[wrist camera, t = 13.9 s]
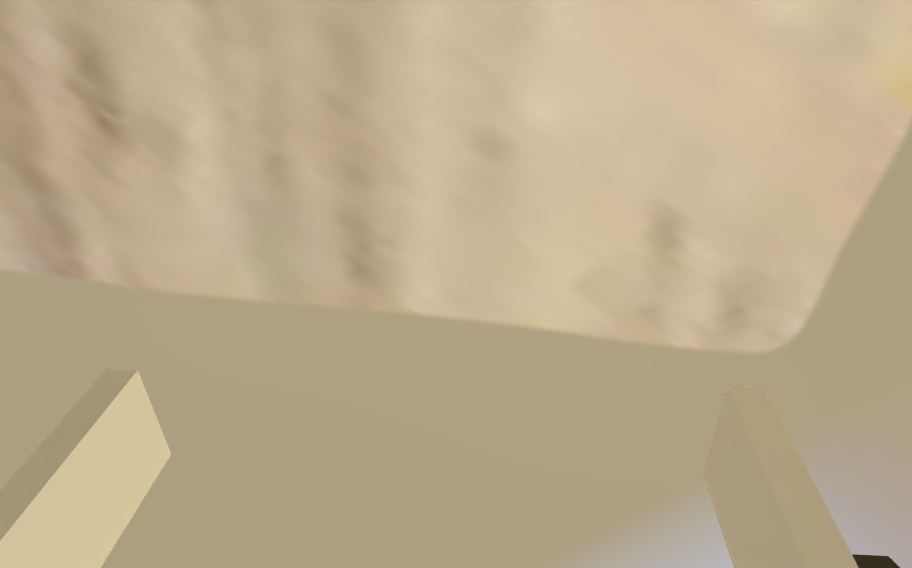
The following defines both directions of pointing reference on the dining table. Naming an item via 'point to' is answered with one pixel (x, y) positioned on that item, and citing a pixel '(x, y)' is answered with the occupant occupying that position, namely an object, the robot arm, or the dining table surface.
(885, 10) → the dining table surface
